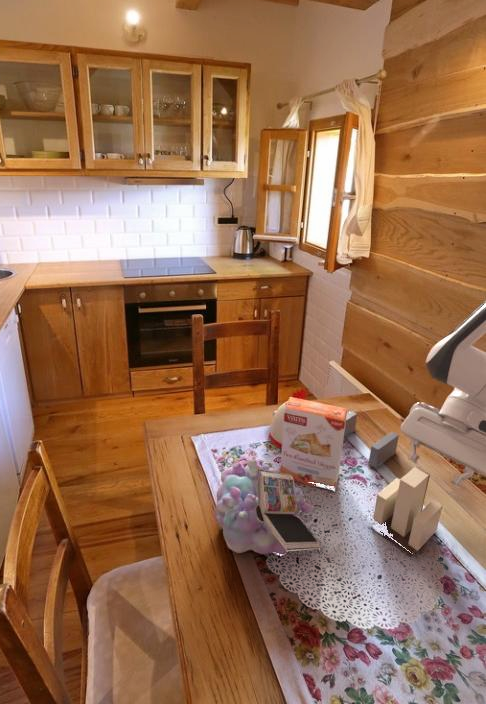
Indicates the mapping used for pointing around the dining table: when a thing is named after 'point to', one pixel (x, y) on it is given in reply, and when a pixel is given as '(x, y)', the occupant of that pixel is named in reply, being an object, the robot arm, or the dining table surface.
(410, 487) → the tall beige block
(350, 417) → the grey book
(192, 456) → the dining table surface
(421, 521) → the cream book
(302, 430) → the cracker box
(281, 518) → the pastel bumpy hinged case
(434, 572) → the dining table surface
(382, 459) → the grey book
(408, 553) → the dark flat slab
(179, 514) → the dining table surface
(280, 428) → the kitchen timer
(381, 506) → the cream book
